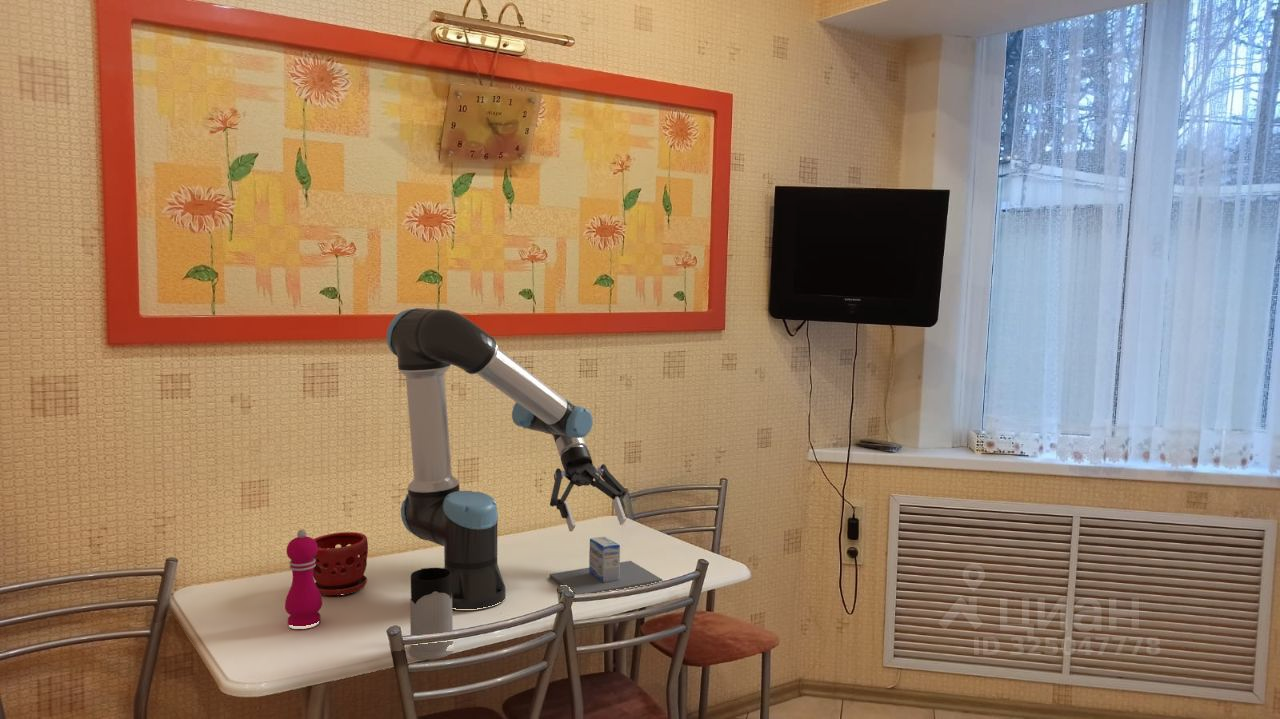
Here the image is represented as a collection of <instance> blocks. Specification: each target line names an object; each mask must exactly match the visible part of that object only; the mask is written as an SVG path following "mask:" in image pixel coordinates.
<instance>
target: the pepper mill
mask: <svg viewBox="0 0 1280 719" xmlns="http://www.w3.org/2000/svg"><path fill="white" fill-rule="evenodd" d="M296 535H297V536H296V537H295V538H293V539H291V540H290V541H289V542H288V543H287V547H286V555H287V558H289V559H290V561H289V565H290V566H289V570H291V572H292V573H291V574H292V580H291V581H292V582H291V586H290V588H289V589H288V592H287V595H286V598H285V602H284V610H285V612H286V613H287V614H289V616H288V617H287V625H288V624H289V625H293V626H306V625H311V624H314V623H317V622H318V621H320V622H321V614H320V612H319V611H320V610H321V608H322V607H323V598H322V594H320V592H319V590H318V588H317V586H316V584H315V582H316V581H315V579H314V577H313V568H314V567H315V566H316V564H315V561H316V560H315V559H314V557H315V555H316V554H317V552H318V546H317V543H316V541H315V540H314V539H315V538H313V537H311V536H308V535H307V531H306V530H305V529H299V530H298V531H297V533H296Z"/></svg>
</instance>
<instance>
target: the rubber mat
mask: <svg viewBox="0 0 1280 719" xmlns="http://www.w3.org/2000/svg"><path fill="white" fill-rule="evenodd" d="M549 579H550V580H551V581H553V582H554V583H555V584H557V585H558V586H560V585H567V586H568V587H570V589H571V590H572V591H573V593H574V594H585V593H597V592H602V591H609V590H616V589H624V588H629V587H635V586H640V585H647V584H651V583H655V582H659V581H662V582H663V579H662V578H661V577H659V576H657V575H656V574H653V573H652V572H650V571H649V570H647V569H646V568H644V567H642V566H640V565H639V564H637V563H636V562H633V561H632V560H625V561H620V579H619V580H616V581H610V582H602V581H601V580H599V579H598V578H596V577H595V576H593V575H591V574H590V573H589V567H584V568H578V569H572V570H565V571H559V572H553V573H550V574H549Z"/></svg>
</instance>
